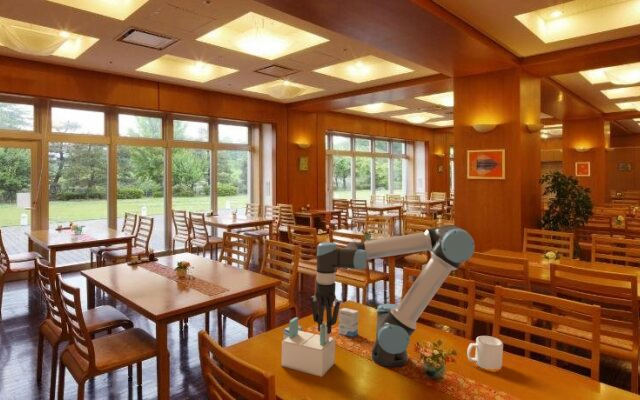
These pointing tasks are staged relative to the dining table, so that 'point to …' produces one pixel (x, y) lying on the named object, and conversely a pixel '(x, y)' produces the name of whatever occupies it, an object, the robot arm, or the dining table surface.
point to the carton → (308, 358)
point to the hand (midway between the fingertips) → (324, 340)
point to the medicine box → (286, 332)
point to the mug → (487, 352)
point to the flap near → (318, 340)
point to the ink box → (348, 322)
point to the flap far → (297, 334)
